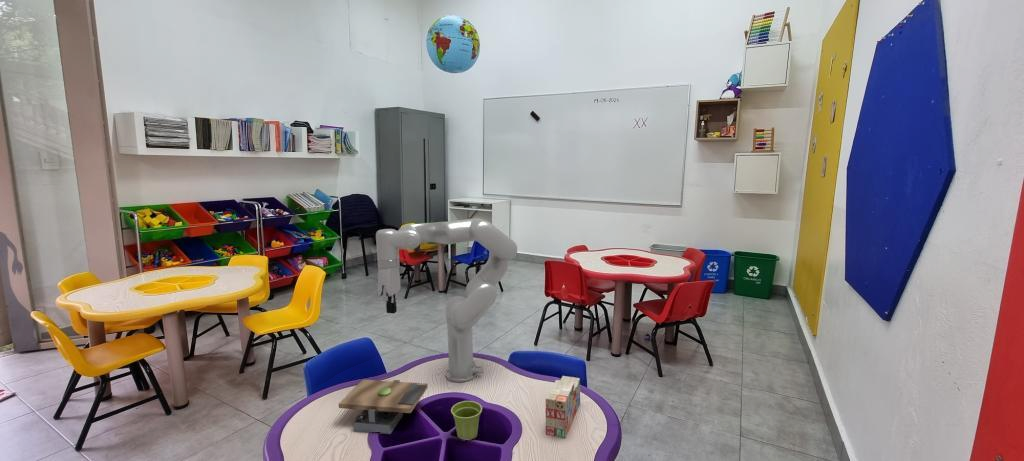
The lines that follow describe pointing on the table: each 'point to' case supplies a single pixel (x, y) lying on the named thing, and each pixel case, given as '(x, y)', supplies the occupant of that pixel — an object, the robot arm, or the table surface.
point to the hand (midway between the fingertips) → (391, 312)
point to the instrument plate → (384, 396)
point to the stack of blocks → (562, 406)
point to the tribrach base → (377, 421)
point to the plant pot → (466, 418)
